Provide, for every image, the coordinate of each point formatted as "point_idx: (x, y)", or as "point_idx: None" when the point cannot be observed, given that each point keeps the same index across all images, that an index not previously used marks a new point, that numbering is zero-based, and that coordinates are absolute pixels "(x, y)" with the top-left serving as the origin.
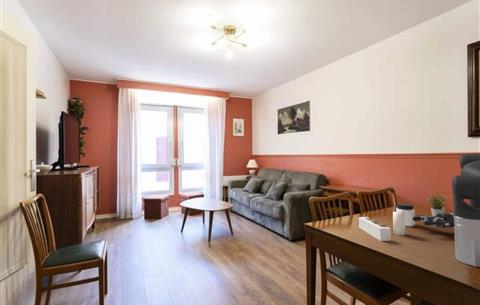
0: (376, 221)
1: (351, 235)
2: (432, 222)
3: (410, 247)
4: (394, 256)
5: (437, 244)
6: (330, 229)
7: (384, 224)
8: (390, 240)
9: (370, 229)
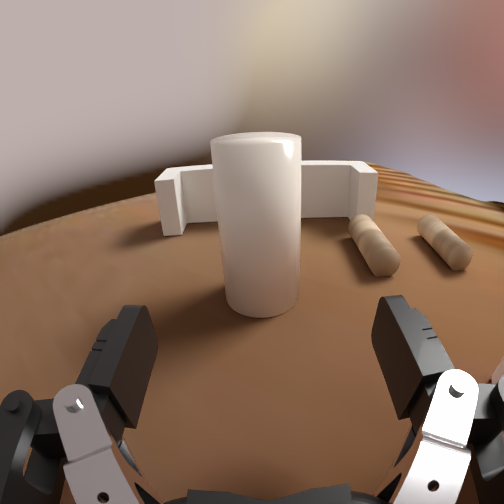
0: (449, 244)
1: None
2: (81, 379)
3: (79, 256)
4: (69, 215)
5: (32, 357)
6: None
7: (378, 246)
8: (163, 234)
9: None
